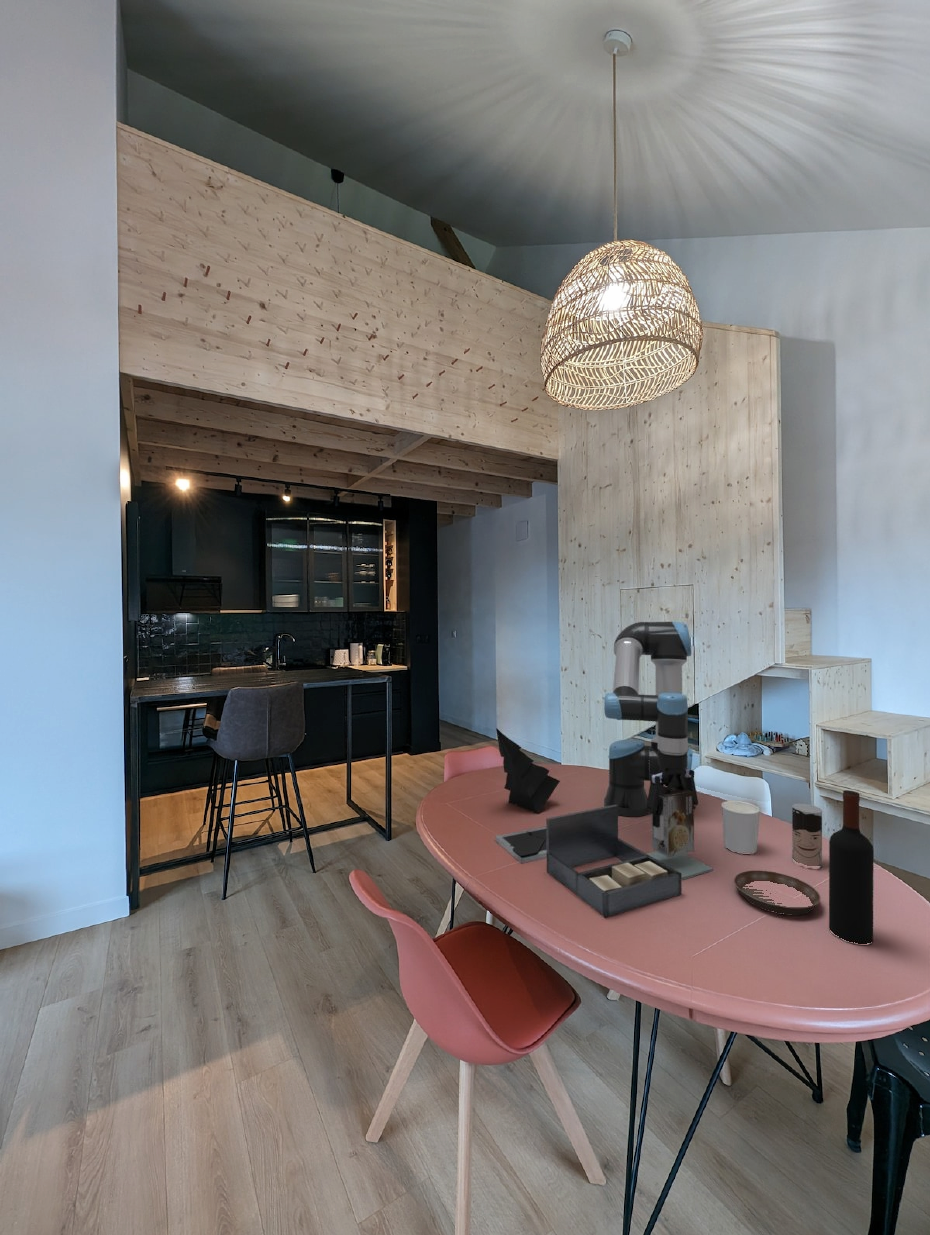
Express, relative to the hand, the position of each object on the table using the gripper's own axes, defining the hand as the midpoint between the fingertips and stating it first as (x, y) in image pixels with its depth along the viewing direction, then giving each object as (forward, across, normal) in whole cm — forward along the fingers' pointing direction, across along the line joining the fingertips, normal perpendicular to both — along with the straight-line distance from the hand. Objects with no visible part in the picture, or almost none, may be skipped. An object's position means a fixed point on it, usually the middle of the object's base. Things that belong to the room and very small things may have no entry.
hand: (672, 835), depth 144 cm
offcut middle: (+8, +21, +6) cm, 23 cm away
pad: (+8, 0, 0) cm, 8 cm away
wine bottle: (+8, -10, +39) cm, 41 cm away
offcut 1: (+8, +28, +6) cm, 30 cm away
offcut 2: (+8, +14, +6) cm, 17 cm away
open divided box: (+8, +21, 0) cm, 22 cm away
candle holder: (+8, -25, +1) cm, 26 cm away
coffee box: (+4, 0, 0) cm, 4 cm away
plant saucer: (+9, -9, +23) cm, 26 cm away
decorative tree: (+8, +15, -53) cm, 56 cm away
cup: (+8, -33, +15) cm, 37 cm away
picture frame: (+9, +26, -26) cm, 38 cm away
